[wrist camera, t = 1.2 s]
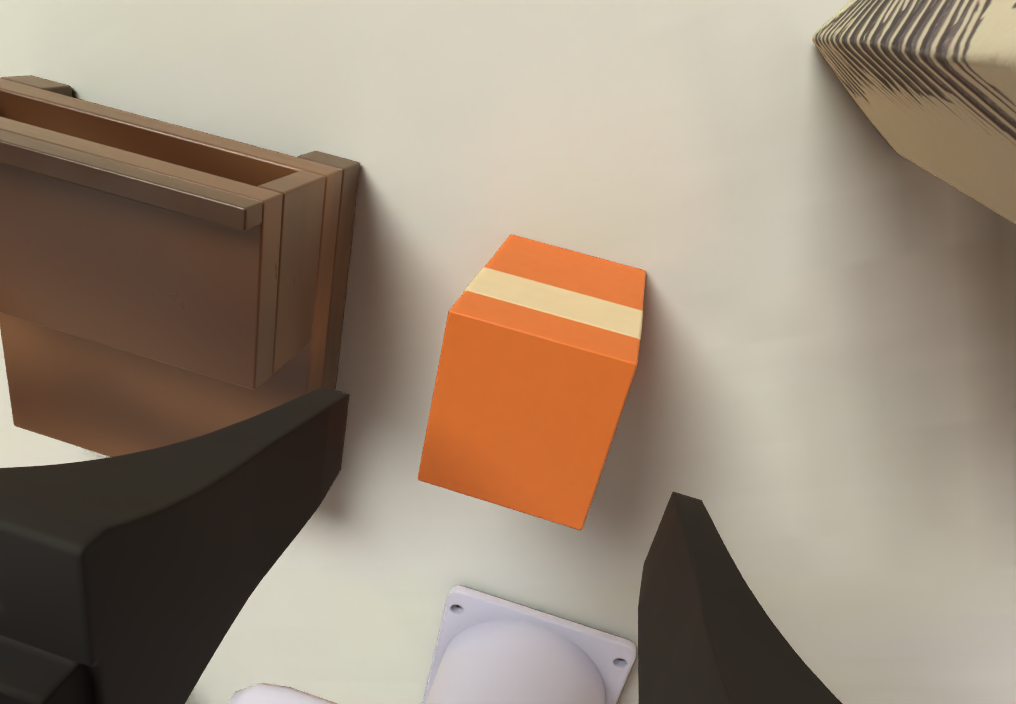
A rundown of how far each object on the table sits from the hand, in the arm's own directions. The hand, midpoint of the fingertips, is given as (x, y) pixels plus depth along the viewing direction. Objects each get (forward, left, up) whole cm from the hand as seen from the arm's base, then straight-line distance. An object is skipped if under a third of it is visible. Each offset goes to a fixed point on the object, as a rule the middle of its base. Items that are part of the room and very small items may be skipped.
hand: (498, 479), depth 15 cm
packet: (0, 0, -9) cm, 9 cm away
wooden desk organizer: (-3, +13, -9) cm, 17 cm away
